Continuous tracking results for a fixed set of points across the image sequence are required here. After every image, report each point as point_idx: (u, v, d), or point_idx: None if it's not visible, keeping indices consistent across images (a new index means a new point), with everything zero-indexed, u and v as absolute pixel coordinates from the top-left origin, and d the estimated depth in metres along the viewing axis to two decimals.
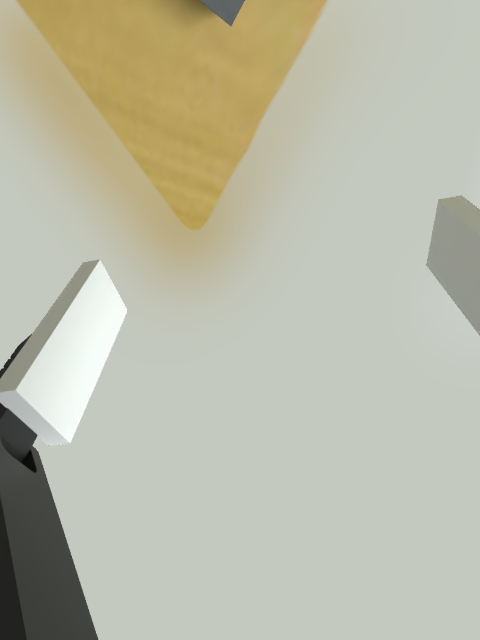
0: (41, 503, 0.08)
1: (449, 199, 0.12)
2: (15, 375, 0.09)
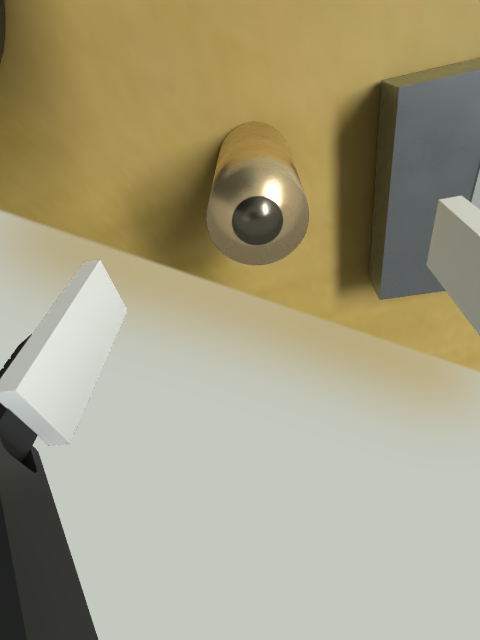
0: (41, 503, 0.08)
1: (449, 199, 0.12)
2: (15, 375, 0.09)
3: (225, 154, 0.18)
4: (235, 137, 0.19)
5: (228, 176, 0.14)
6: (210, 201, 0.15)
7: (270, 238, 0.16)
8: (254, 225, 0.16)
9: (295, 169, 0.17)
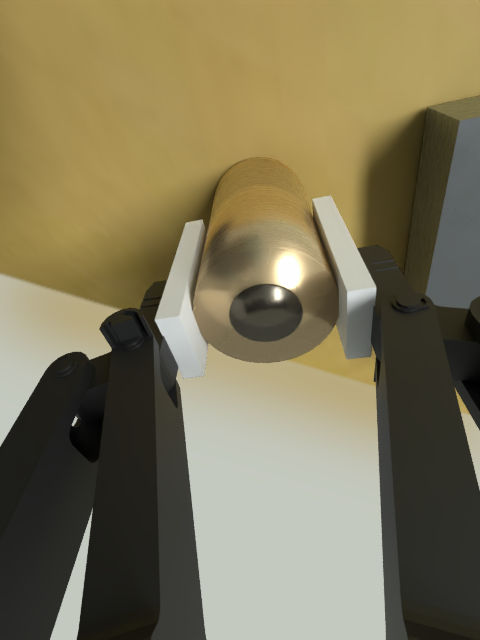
0: (178, 440, 0.09)
1: (320, 198, 0.14)
2: (171, 305, 0.10)
3: (221, 208, 0.13)
4: (235, 181, 0.15)
5: (224, 258, 0.10)
6: (198, 289, 0.10)
7: (283, 333, 0.12)
8: (261, 319, 0.11)
9: (317, 231, 0.13)
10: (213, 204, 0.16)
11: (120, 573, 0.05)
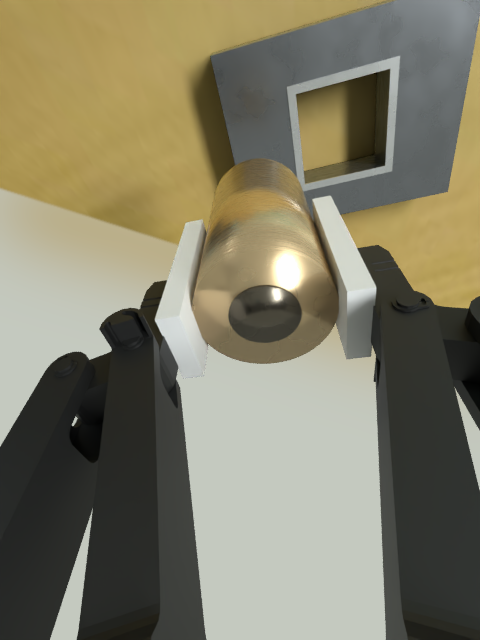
0: (177, 440, 0.09)
1: (320, 198, 0.14)
2: (172, 306, 0.10)
3: (221, 209, 0.13)
4: (234, 182, 0.15)
5: (223, 259, 0.10)
6: (197, 291, 0.10)
7: (283, 334, 0.12)
8: (260, 320, 0.11)
9: (316, 232, 0.13)
10: (213, 205, 0.16)
11: (120, 573, 0.05)
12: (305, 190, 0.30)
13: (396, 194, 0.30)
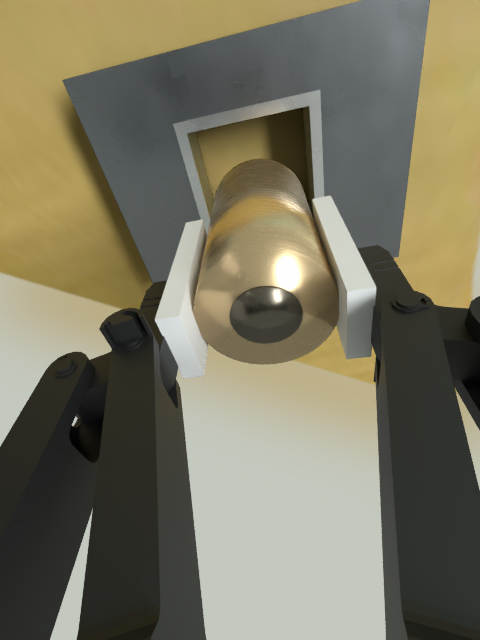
0: (178, 440, 0.09)
1: (320, 198, 0.14)
2: (172, 306, 0.10)
3: (221, 210, 0.13)
4: (235, 183, 0.15)
5: (224, 260, 0.10)
6: (198, 291, 0.10)
7: (284, 334, 0.12)
8: (261, 321, 0.11)
9: (317, 233, 0.13)
10: (213, 205, 0.16)
11: (120, 573, 0.05)
12: None
13: None
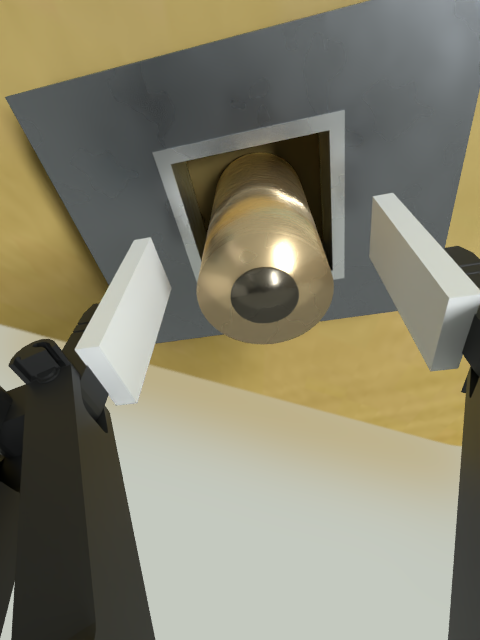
0: (110, 464, 0.09)
1: (381, 196, 0.13)
2: (95, 334, 0.10)
3: (223, 199, 0.14)
4: (236, 174, 0.15)
5: (225, 242, 0.11)
6: (201, 273, 0.11)
7: (281, 314, 0.12)
8: (260, 301, 0.12)
9: (313, 220, 0.13)
10: (215, 197, 0.16)
11: (51, 606, 0.05)
12: None
13: (353, 306, 0.20)
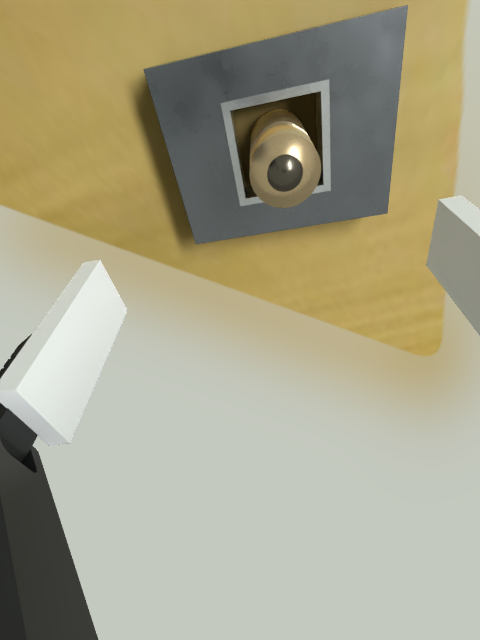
0: (41, 503, 0.08)
1: (449, 199, 0.12)
2: (15, 375, 0.09)
3: (260, 130, 0.25)
4: (266, 119, 0.26)
5: (267, 139, 0.21)
6: (253, 157, 0.22)
7: (293, 186, 0.23)
8: (282, 176, 0.23)
9: None
10: (252, 134, 0.27)
11: None
12: (246, 204, 0.30)
13: (337, 213, 0.30)
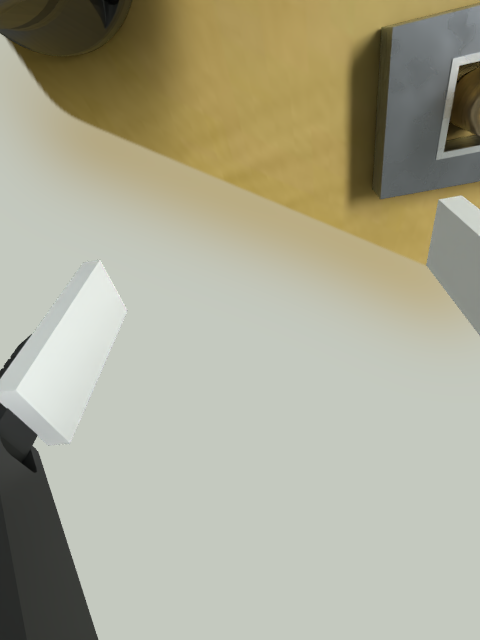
0: (41, 503, 0.08)
1: (449, 199, 0.12)
2: (15, 375, 0.09)
3: None
4: None
5: None
6: None
7: None
8: None
9: None
10: (465, 89, 0.30)
11: None
12: (442, 158, 0.33)
13: None
